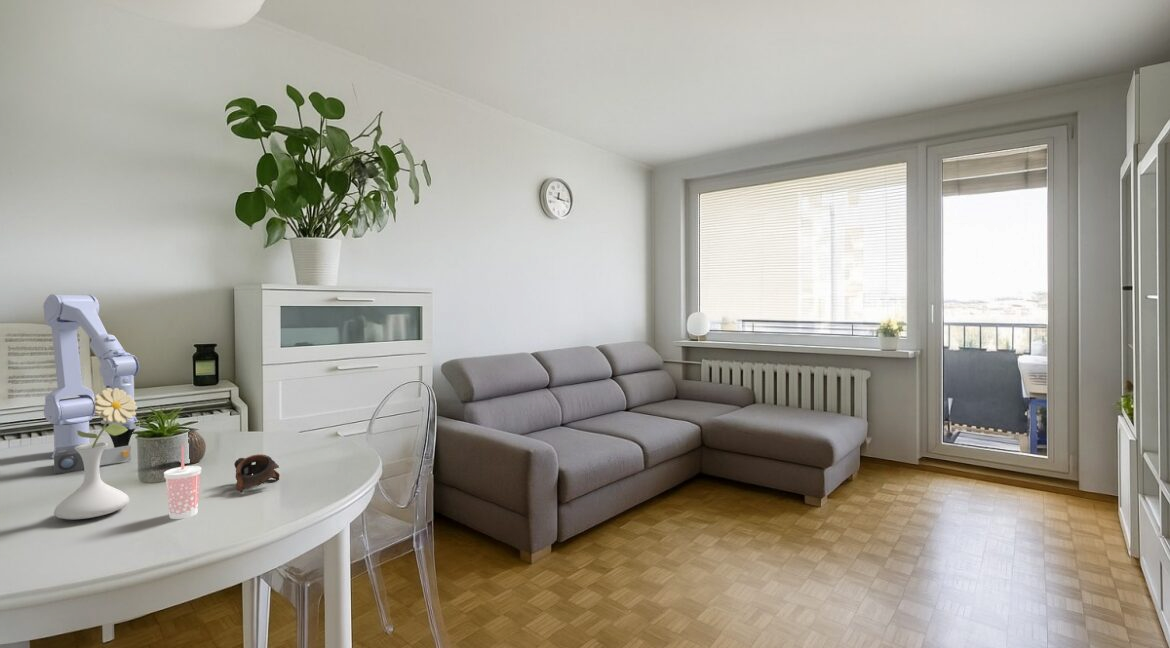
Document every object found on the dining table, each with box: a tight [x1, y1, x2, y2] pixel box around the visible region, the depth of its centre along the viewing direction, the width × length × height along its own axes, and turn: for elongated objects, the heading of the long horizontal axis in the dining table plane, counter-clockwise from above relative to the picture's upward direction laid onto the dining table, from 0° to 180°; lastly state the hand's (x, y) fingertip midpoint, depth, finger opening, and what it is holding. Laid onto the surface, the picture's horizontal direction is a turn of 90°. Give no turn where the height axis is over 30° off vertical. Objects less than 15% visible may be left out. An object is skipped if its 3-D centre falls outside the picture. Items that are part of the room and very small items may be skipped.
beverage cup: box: [163, 445, 202, 520], centre depth 111 cm, size 6×6×14 cm
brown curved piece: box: [234, 454, 280, 493], centre depth 129 cm, size 12×10×8 cm
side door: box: [99, 445, 132, 467], centre depth 144 cm, size 8×1×4 cm, turn 145°
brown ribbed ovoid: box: [188, 428, 207, 465], centre depth 147 cm, size 7×7×9 cm
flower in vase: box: [53, 387, 138, 520], centre depth 112 cm, size 13×11×25 cm
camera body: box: [53, 444, 84, 474], centre depth 142 cm, size 11×6×5 cm, turn 41°
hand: (121, 452), depth 147 cm, fingers closed, pressing on side door
